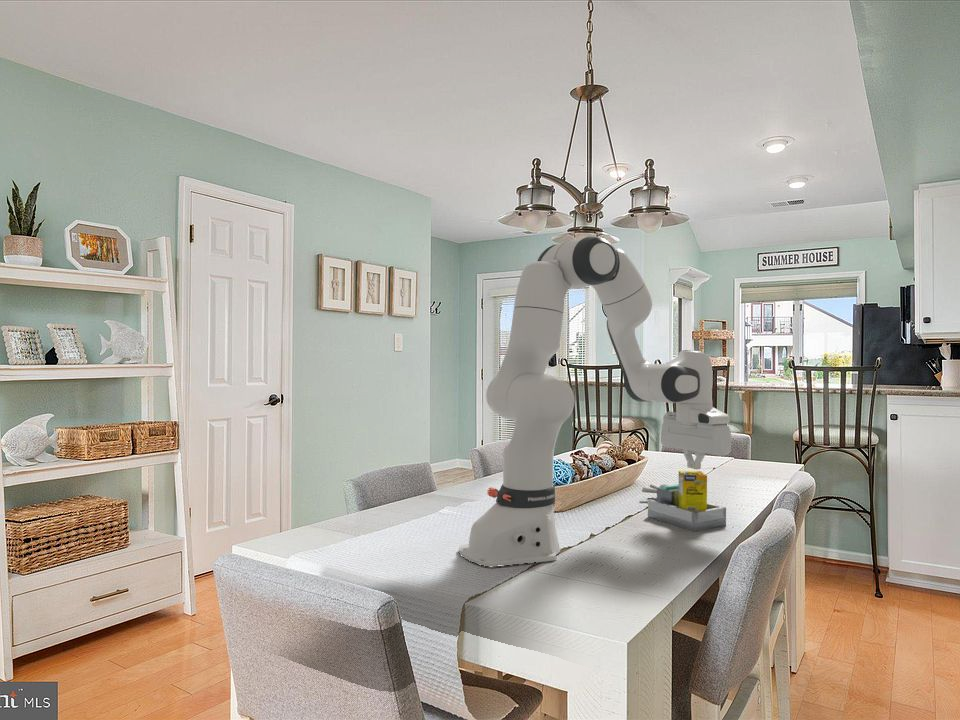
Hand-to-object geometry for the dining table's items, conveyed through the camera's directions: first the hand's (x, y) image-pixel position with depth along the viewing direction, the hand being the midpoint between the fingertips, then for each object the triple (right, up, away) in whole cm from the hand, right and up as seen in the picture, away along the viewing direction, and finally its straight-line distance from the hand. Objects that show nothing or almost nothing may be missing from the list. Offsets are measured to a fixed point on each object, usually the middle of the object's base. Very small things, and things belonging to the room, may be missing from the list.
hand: (694, 468), depth 167 cm
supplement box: (0, -12, 0) cm, 12 cm away
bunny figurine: (+1, -14, +24) cm, 28 cm away
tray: (-1, -14, +2) cm, 14 cm away
